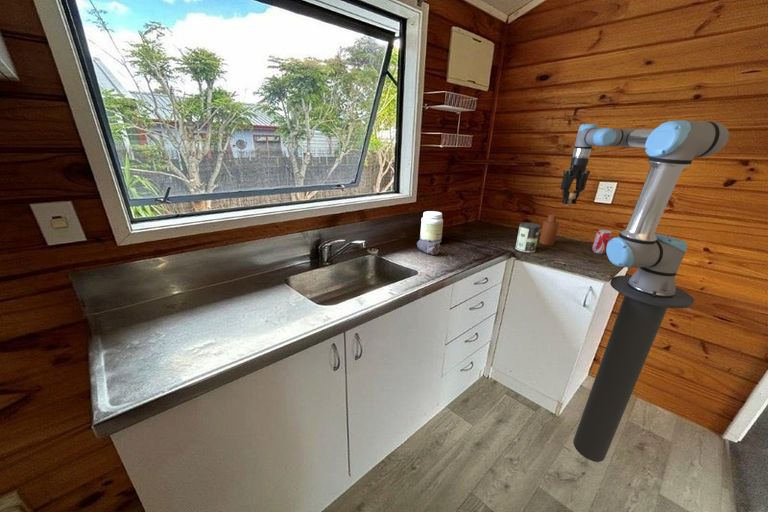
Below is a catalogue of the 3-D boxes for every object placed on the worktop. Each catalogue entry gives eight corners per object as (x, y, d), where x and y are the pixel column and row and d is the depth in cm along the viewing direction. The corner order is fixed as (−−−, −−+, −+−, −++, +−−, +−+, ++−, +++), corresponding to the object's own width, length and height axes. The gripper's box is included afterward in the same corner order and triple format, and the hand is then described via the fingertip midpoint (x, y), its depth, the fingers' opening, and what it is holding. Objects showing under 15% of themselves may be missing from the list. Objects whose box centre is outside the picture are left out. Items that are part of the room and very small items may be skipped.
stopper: (571, 207, 158) (574, 193, 156) (561, 205, 162) (565, 192, 159) (574, 206, 161) (577, 193, 158) (565, 204, 164) (568, 191, 162)
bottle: (550, 246, 174) (557, 217, 168) (536, 242, 179) (542, 214, 173) (556, 243, 178) (562, 215, 172) (542, 240, 184) (548, 212, 178)
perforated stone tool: (413, 249, 163) (414, 236, 160) (420, 247, 165) (421, 235, 163) (433, 257, 151) (434, 244, 149) (440, 255, 154) (442, 242, 152)
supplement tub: (445, 242, 175) (448, 213, 169) (431, 246, 167) (433, 216, 161) (429, 237, 183) (431, 209, 177) (415, 240, 176) (417, 212, 170)
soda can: (588, 250, 169) (594, 229, 164) (601, 250, 169) (607, 229, 164) (596, 254, 162) (602, 233, 158) (609, 255, 162) (616, 233, 158)
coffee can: (536, 248, 168) (541, 224, 163) (534, 254, 160) (539, 228, 155) (516, 245, 173) (521, 221, 168) (513, 250, 165) (518, 225, 160)
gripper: (590, 157, 157) (578, 202, 165) (559, 156, 154) (549, 202, 163) (602, 158, 150) (588, 205, 159) (569, 157, 148) (558, 205, 156)
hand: (568, 203), depth 161 cm, fingers closed on stopper, 5 cm apart
